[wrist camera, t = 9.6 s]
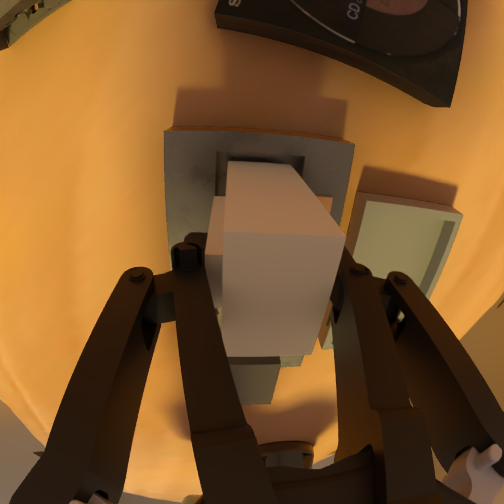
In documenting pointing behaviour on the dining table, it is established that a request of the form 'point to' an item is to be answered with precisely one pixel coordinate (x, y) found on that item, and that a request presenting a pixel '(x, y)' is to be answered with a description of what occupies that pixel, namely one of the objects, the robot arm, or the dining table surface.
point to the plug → (275, 261)
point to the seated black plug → (255, 378)
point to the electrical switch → (22, 17)
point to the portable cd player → (367, 37)
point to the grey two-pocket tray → (249, 150)
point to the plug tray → (398, 242)
